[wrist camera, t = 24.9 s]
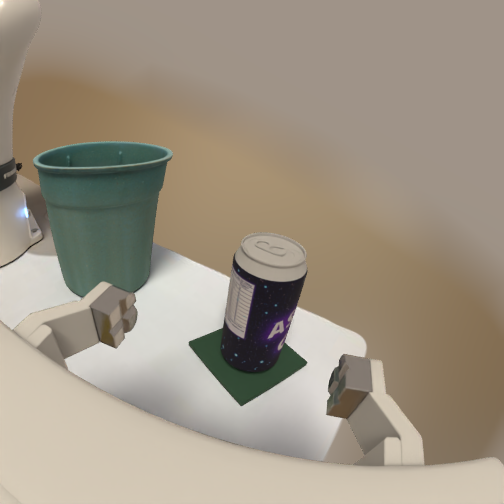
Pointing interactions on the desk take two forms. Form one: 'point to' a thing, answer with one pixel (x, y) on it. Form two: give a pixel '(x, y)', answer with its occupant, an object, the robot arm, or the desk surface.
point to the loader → (18, 166)
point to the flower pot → (103, 210)
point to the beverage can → (262, 300)
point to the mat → (239, 381)
